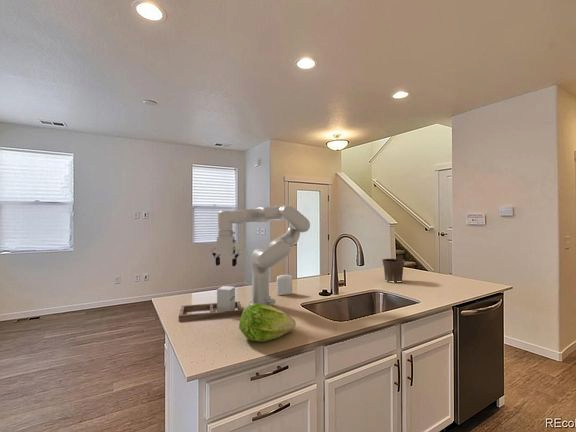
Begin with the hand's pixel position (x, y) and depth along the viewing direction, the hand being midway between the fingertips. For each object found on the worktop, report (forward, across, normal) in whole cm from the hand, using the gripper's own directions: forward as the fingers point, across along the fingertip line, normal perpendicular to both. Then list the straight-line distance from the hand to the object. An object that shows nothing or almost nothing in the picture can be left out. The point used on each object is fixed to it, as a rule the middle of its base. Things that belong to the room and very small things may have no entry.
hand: (226, 265), depth 158 cm
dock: (+23, +5, +8) cm, 25 cm away
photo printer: (+24, -21, -37) cm, 49 cm away
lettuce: (+24, -34, +26) cm, 49 cm away
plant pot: (+26, -90, -95) cm, 133 cm away
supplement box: (+24, -2, +4) cm, 24 cm away
